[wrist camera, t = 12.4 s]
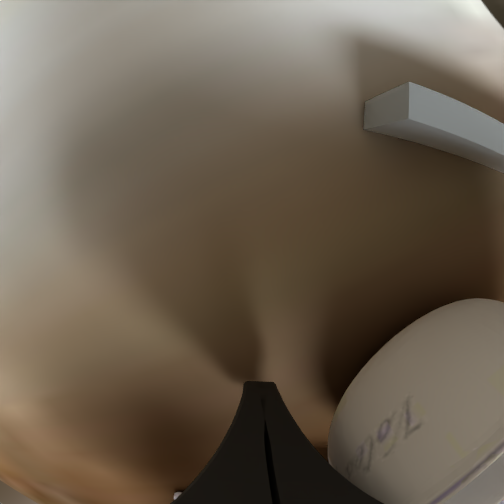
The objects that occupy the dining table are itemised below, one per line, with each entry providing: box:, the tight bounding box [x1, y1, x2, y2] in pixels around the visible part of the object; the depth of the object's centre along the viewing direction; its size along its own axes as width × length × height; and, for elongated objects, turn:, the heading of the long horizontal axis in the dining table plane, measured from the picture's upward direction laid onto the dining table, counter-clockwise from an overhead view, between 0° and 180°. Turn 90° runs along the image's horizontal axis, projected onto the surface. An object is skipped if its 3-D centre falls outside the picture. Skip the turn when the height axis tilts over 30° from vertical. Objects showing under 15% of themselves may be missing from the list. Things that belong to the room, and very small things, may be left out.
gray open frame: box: [363, 82, 504, 173], centre depth 10 cm, size 19×19×3 cm
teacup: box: [328, 298, 504, 504], centre depth 8 cm, size 14×11×8 cm
